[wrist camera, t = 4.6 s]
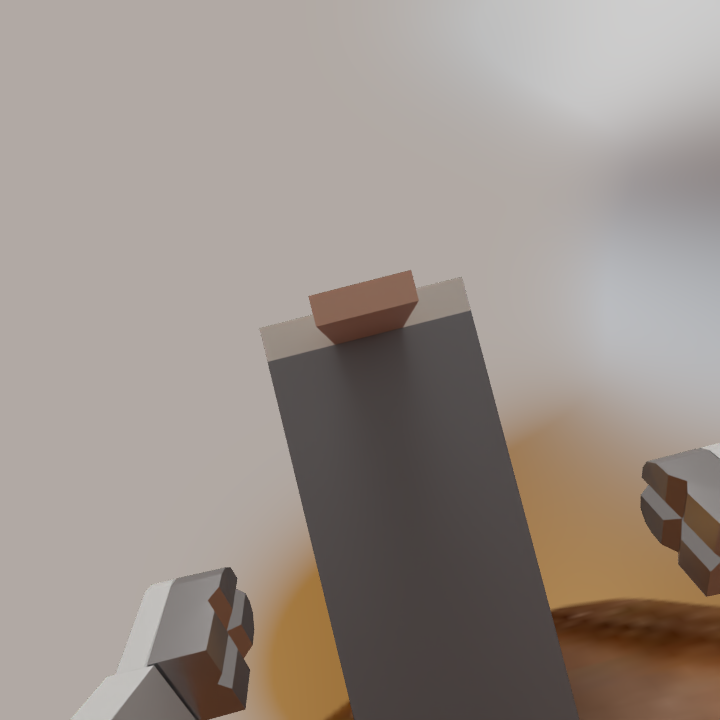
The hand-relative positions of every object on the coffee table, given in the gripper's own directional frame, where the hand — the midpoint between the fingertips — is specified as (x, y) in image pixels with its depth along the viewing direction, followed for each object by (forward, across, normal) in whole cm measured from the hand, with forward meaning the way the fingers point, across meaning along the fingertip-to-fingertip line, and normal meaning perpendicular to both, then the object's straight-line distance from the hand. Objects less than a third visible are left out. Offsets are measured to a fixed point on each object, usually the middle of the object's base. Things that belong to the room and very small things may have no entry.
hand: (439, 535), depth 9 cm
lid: (+17, 0, +3) cm, 18 cm away
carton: (+8, 0, +28) cm, 29 cm away
